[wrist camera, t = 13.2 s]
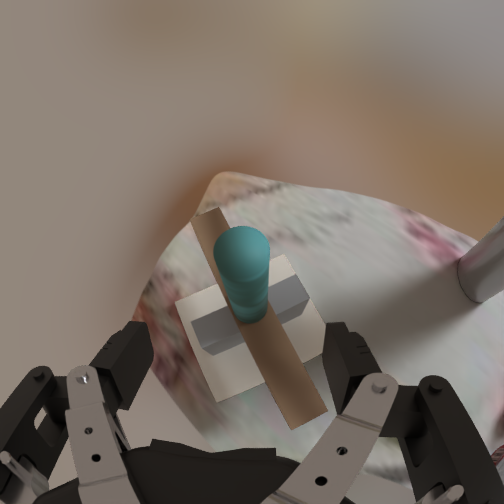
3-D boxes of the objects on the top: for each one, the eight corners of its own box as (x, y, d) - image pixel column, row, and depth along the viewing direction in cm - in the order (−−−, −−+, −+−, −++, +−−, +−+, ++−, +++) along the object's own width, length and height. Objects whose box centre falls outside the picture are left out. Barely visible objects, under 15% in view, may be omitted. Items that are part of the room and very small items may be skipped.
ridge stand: (283, 258, 39) (287, 227, 31) (333, 346, 32) (352, 334, 25) (177, 305, 36) (157, 283, 29) (218, 402, 30) (205, 406, 23)
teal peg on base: (221, 217, 33) (202, 129, 21) (323, 409, 22) (376, 424, 10) (193, 229, 32) (162, 144, 20) (289, 426, 21) (313, 461, 10)
